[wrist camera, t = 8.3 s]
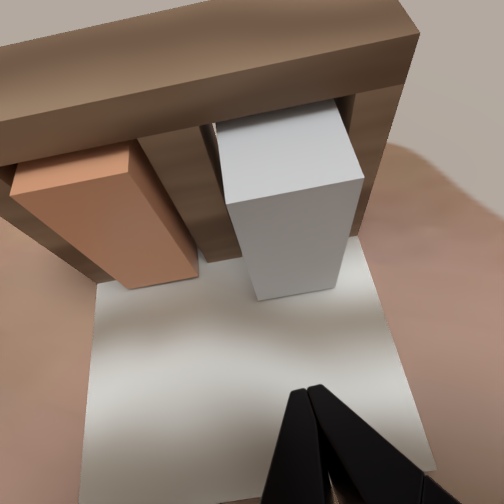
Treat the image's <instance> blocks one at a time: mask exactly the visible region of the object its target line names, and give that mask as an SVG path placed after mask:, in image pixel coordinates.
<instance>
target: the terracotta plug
mask: <svg viewBox="0 0 504 504" xmlns="http://www.w3.org/2000/svg"><path fill="white" fill-rule="evenodd" d="M9 196H10V197H11V198H13V199H14V200H15V201H16V202H18V203H19V204H20V205H22V206H23V207H24V208H25V209H27V210H28V211H29V212H30V213H32V214H33V215H34V216H36V217H37V218H38V219H39V220H41V221H42V222H43V223H44V224H46V225H47V226H48V227H50V228H51V229H52V230H53V231H55V232H56V233H57V234H58V235H60V236H61V237H62V238H64V239H65V240H66V241H67V242H69V243H70V244H71V245H72V246H74V247H75V248H76V249H78V250H79V251H80V252H81V253H83V254H84V255H85V256H86V257H88V258H89V259H90V260H92V261H93V262H94V263H95V264H97V265H98V266H99V267H100V268H102V269H103V270H104V271H105V272H107V273H108V274H109V275H111V276H112V277H113V278H114V279H116V280H117V281H118V282H119V283H121V284H122V285H123V286H125V287H126V288H127V289H133V288H138V287H143V286H149V285H154V284H160V283H165V282H171V281H176V280H181V279H187V278H192V277H198V276H199V273H198V259H197V245H196V242H195V240H194V238H193V236H192V235H191V233H190V231H189V229H188V228H187V226H186V224H185V222H184V221H183V219H182V217H181V215H180V214H179V212H178V210H177V208H176V207H175V205H174V203H173V201H172V199H171V198H170V196H169V194H168V192H167V191H166V189H165V187H164V185H163V184H162V182H161V180H160V178H159V177H158V175H157V173H156V171H155V170H154V168H153V166H152V164H151V163H150V161H149V159H148V157H147V156H146V154H145V152H144V150H143V148H142V147H141V145H140V143H139V141H138V140H137V139H132V140H127V141H122V142H117V143H112V144H108V145H103V146H98V147H93V148H88V149H83V150H78V151H73V152H68V153H64V154H59V155H54V156H49V157H44V158H39V159H34V160H29V161H25V162H20V163H18V165H17V168H16V172H15V176H14V180H13V184H12V188H11V191H10V195H9Z"/></svg>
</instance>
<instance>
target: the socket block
mask: <svg viewBox="0 0 504 504" xmlns="http://www.w3.org/2000/svg"><path fill="white" fill-rule="evenodd" d="M419 36H420V32H419V30H418V29H417V27H416V26H415V24H414V23H413V21H412V20H411V18H410V17H409V16H408V14H407V13H406V11H405V10H404V8H403V7H402V5H401V4H400V2H399V1H398V0H210V1H205V2H200V3H196V4H191V5H187V6H182V7H178V8H173V9H169V10H164V11H160V12H155V13H151V14H147V15H142V16H137V17H133V18H129V19H123V20H119V21H114V22H110V23H105V24H101V25H96V26H92V27H88V28H84V29H78V30H74V31H69V32H65V33H60V34H56V35H51V36H47V37H43V38H38V39H33V40H29V41H24V42H20V43H16V44H11V45H7V46H2V47H0V216H1V217H2V218H3V219H5V220H6V221H8V222H9V223H11V224H12V225H14V226H15V227H16V228H18V229H19V230H21V231H22V232H24V233H25V234H27V235H28V236H29V237H31V238H32V239H34V240H35V241H37V242H38V243H39V244H41V245H42V246H44V247H45V248H47V249H48V250H50V251H51V252H52V253H54V254H55V255H57V256H58V257H60V258H61V259H63V260H64V261H65V262H67V263H68V264H70V265H71V266H73V267H74V268H75V269H77V270H78V271H80V272H81V273H83V274H84V275H86V276H87V277H88V278H90V279H91V280H93V281H94V282H96V283H97V295H96V306H95V318H94V329H93V340H92V351H91V363H90V374H89V385H88V397H87V408H86V419H85V431H84V442H83V453H82V465H81V476H80V487H79V499H78V504H217V503H223V502H230V501H236V500H243V499H250V498H256V497H261V496H262V492H263V488H264V485H265V481H266V477H267V474H268V470H269V467H270V463H271V459H272V456H273V452H274V448H275V445H276V441H277V438H278V434H279V430H280V427H281V423H282V419H283V416H284V412H285V409H286V405H287V401H288V398H289V394H290V392H291V391H292V390H296V389H300V388H305V389H306V390H307V388H308V387H309V386H313V385H318V384H322V385H324V386H325V387H326V388H327V389H328V390H330V391H331V392H332V393H333V394H334V395H335V396H337V397H338V398H339V399H340V400H341V401H342V402H343V403H345V404H346V405H347V406H348V407H349V408H350V409H352V410H353V411H354V412H355V413H356V414H357V415H359V416H360V417H361V418H362V419H363V420H364V421H366V422H367V423H368V424H369V425H370V426H371V427H372V428H374V429H375V430H376V431H377V432H378V433H379V434H381V435H382V436H383V437H384V438H385V439H386V440H388V441H389V442H390V443H391V444H392V445H393V446H394V447H396V448H397V449H398V450H399V451H400V452H401V453H403V454H404V455H405V456H406V457H407V458H408V459H410V460H411V461H412V462H413V463H414V464H415V465H416V466H418V467H419V468H420V469H421V470H422V471H423V472H428V471H434V470H438V469H437V466H436V463H435V460H434V457H433V454H432V452H431V449H430V446H429V443H428V440H427V437H426V434H425V431H424V428H423V425H422V422H421V420H420V417H419V414H418V411H417V408H416V405H415V402H414V399H413V396H412V393H411V390H410V387H409V385H408V382H407V379H406V376H405V373H404V370H403V367H402V364H401V361H400V358H399V355H398V353H397V350H396V347H395V344H394V341H393V338H392V335H391V332H390V329H389V326H388V323H387V320H386V318H385V315H384V312H383V309H382V306H381V303H380V300H379V297H378V294H377V291H376V288H375V286H374V283H373V280H372V277H371V274H370V271H369V268H368V265H367V262H366V259H365V256H364V253H363V251H362V248H361V245H360V242H359V239H358V236H357V235H358V232H359V229H360V226H361V222H362V219H363V216H364V213H365V209H366V206H367V203H368V200H369V197H370V193H371V190H372V187H373V184H374V180H375V177H376V174H377V171H378V168H379V164H380V161H381V158H382V155H383V151H384V148H385V145H386V142H387V139H388V135H389V132H390V129H391V126H392V122H393V119H394V116H395V113H396V110H397V106H398V103H399V100H400V97H401V94H402V90H403V87H404V84H405V80H406V77H407V74H408V71H409V67H410V64H411V61H412V58H413V55H414V52H415V48H416V45H417V42H418V39H419ZM332 98H333V99H334V101H335V104H336V106H337V109H338V112H339V114H340V117H341V119H342V122H343V124H344V127H345V129H346V132H347V134H348V137H349V139H350V142H351V145H352V147H353V150H354V152H355V155H356V157H357V160H358V162H359V165H360V167H361V170H362V172H363V175H364V181H363V185H362V189H361V193H360V196H359V200H358V204H357V208H356V211H355V215H354V219H353V223H352V226H351V230H350V234H349V238H348V241H347V245H346V249H345V253H344V256H343V260H342V264H341V268H340V271H339V275H338V279H337V283H336V287H333V288H328V289H322V290H316V291H311V292H305V293H300V294H294V295H289V296H283V297H277V298H272V299H266V300H261V301H258V299H257V296H256V293H255V290H254V287H253V284H252V281H251V278H250V275H249V272H248V269H247V266H246V263H245V260H244V257H243V254H242V251H241V248H240V245H239V242H238V239H237V236H236V233H235V230H234V227H233V224H232V221H231V218H230V215H229V212H228V209H227V206H226V201H225V194H224V186H223V178H222V170H221V162H220V155H219V147H218V142H217V139H216V135H215V132H214V129H213V125H212V123H215V122H220V121H225V120H230V119H235V118H239V117H244V116H249V115H254V114H259V113H264V112H269V111H274V110H279V109H283V108H288V107H293V106H298V105H303V104H308V103H313V102H318V101H323V100H327V99H332ZM132 139H137V140H138V141H139V143H140V145H141V147H142V148H143V150H144V152H145V154H146V156H147V157H148V159H149V161H150V163H151V164H152V166H153V168H154V170H155V171H156V173H157V175H158V177H159V178H160V180H161V182H162V184H163V185H164V187H165V189H166V191H167V192H168V194H169V196H170V198H171V199H172V201H173V203H174V205H175V207H176V208H177V210H178V212H179V214H180V215H181V217H182V219H183V221H184V222H185V224H186V226H187V228H188V229H189V231H190V233H191V235H192V236H193V238H194V240H195V242H196V245H197V259H198V273H199V276H198V277H192V278H187V279H181V280H176V281H171V282H165V283H160V284H154V285H149V286H143V287H138V288H133V289H127V288H126V287H125V286H123V285H122V284H121V283H119V282H118V281H117V280H116V279H114V278H113V277H112V276H111V275H109V274H108V273H107V272H105V271H104V270H103V269H102V268H100V267H99V266H98V265H97V264H95V263H94V262H93V261H92V260H90V259H89V258H88V257H86V256H85V255H84V254H83V253H81V252H80V251H79V250H78V249H76V248H75V247H74V246H72V245H71V244H70V243H69V242H67V241H66V240H65V239H64V238H62V237H61V236H60V235H58V234H57V233H56V232H55V231H53V230H52V229H51V228H50V227H48V226H47V225H46V224H44V223H43V222H42V221H41V220H39V219H38V218H37V217H36V216H34V215H33V214H32V213H30V212H29V211H28V210H27V209H25V208H24V207H23V206H22V205H20V204H19V203H18V202H16V201H15V200H14V199H13V198H11V197H10V196H9V195H10V191H11V188H12V184H13V180H14V176H15V172H16V168H17V165H18V163H20V162H25V161H29V160H34V159H39V158H44V157H49V156H54V155H59V154H64V153H68V152H73V151H78V150H83V149H88V148H93V147H98V146H103V145H108V144H112V143H117V142H122V141H127V140H132ZM329 478H330V477H329ZM330 483H331V480H330ZM331 486H332V483H331Z"/></svg>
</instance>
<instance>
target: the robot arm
mask: <svg viewBox="0 0 504 504" xmlns="http://www.w3.org/2000/svg"><path fill="white" fill-rule="evenodd" d="M329 477H330V478H329ZM330 480H331V483H332V486H333V489H334V491H335V494H336V497H337V499H338V502H339V504H461V503H460V502H459V501H458V500H457V499H455V498H454V497H453V496H452V495H451V494H449V493H448V492H447V491H446V490H444V489H443V488H442V487H441V486H440V485H439V484H438V483H436V482H435V481H434V480H433V479H432V478H431V477H429V476H428V475H425V473H424V472H423V471H422V470H421V469H420V468H419V467H418V466H416V465H415V464H414V463H413V462H412V461H411V460H410V459H408V458H407V457H406V456H405V455H404V454H403V453H401V452H400V451H399V450H398V449H397V448H396V447H394V446H393V445H392V444H391V443H390V442H389V441H388V440H386V439H385V438H384V437H383V436H382V435H381V434H379V433H378V432H377V431H376V430H375V429H374V428H372V427H371V426H370V425H369V424H368V423H367V422H366V421H364V420H363V419H362V418H361V417H360V416H359V415H357V414H356V413H355V412H354V411H353V410H352V409H350V408H349V407H348V406H347V405H346V404H345V403H343V402H342V401H341V400H340V399H339V398H338V397H337V396H335V395H334V394H333V393H332V392H331V391H330V390H328V389H327V388H326V387H325V386H324V385H322V384H318V385H313V386H309V387H308V388H307V390H306V389H305V388H300V389H296V390H292V391H291V392H290V394H289V398H288V401H287V405H286V409H285V412H284V416H283V419H282V423H281V427H280V430H279V434H278V438H277V441H276V445H275V448H274V452H273V456H272V459H271V463H270V467H269V470H268V474H267V477H266V481H265V485H264V488H263V492H262V496H261V499H260V503H259V504H334V498H333V493H332V488H331V483H330Z"/></svg>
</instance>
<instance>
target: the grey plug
mask: <svg viewBox="0 0 504 504" xmlns="http://www.w3.org/2000/svg"><path fill="white" fill-rule="evenodd" d="M215 123H216V130H217V139H218V147H219V155H220V162H221V170H222V178H223V186H224V194H225V201H226V206H227V209H228V212H229V215H230V218H231V221H232V224H233V227H234V230H235V233H236V236H237V239H238V242H239V245H240V248H241V251H242V254H243V257H244V260H245V263H246V266H247V269H248V272H249V275H250V278H251V281H252V284H253V287H254V290H255V293H256V296H257V299H258V301H261V300H266V299H272V298H277V297H283V296H289V295H294V294H300V293H305V292H311V291H316V290H322V289H328V288H333V287H336V283H337V279H338V275H339V271H340V268H341V264H342V260H343V256H344V253H345V249H346V245H347V241H348V238H349V234H350V230H351V226H352V223H353V219H354V215H355V211H356V208H357V204H358V200H359V196H360V193H361V189H362V185H363V181H364V175H363V172H362V170H361V167H360V165H359V162H358V160H357V157H356V155H355V152H354V150H353V147H352V145H351V142H350V139H349V137H348V134H347V132H346V129H345V127H344V124H343V122H342V119H341V117H340V114H339V112H338V109H337V106H336V104H335V101H334V99H333V98H332V99H327V100H323V101H318V102H313V103H308V104H303V105H298V106H293V107H288V108H283V109H279V110H274V111H269V112H264V113H259V114H254V115H249V116H244V117H239V118H235V119H230V120H225V121H220V122H215Z"/></svg>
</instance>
